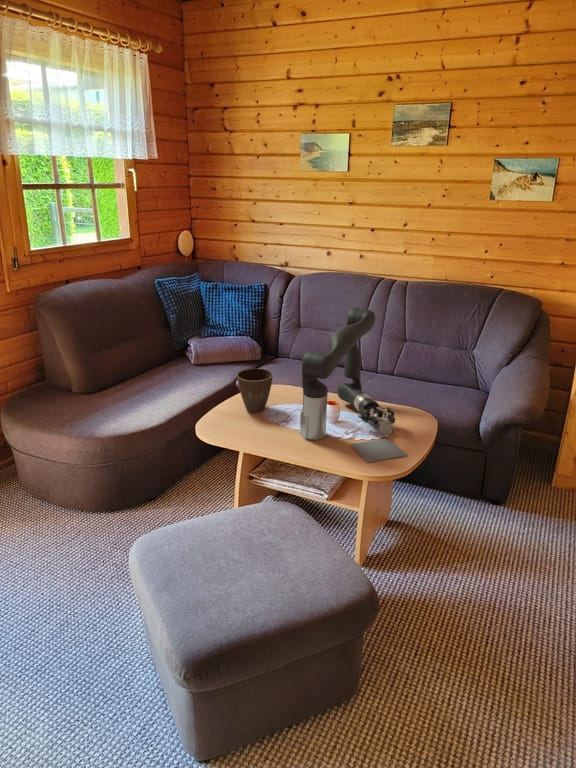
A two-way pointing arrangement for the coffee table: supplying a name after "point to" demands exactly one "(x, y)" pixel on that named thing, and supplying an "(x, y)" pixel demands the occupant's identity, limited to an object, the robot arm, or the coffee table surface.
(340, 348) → the robot arm
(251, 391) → the plant pot
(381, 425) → the lighter
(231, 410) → the coffee table surface
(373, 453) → the mat
